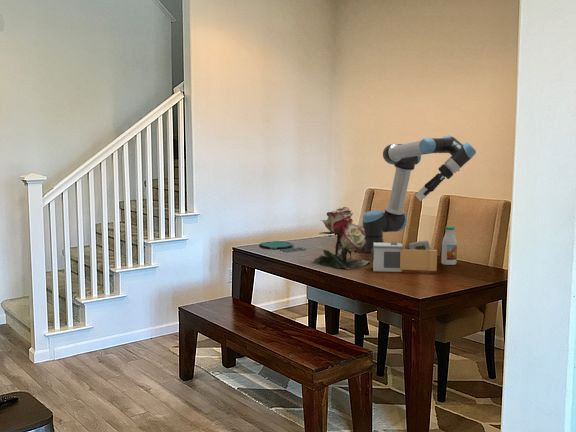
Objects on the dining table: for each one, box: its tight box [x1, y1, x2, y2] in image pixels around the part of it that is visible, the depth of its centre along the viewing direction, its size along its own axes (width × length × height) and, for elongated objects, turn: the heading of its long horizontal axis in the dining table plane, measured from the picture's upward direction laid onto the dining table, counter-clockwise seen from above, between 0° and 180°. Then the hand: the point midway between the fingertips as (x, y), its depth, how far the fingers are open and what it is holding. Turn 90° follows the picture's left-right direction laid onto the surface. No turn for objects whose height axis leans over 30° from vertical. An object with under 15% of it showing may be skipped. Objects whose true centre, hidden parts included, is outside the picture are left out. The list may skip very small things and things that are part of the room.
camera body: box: [370, 241, 404, 273], centre depth 303 cm, size 15×11×14 cm
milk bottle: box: [440, 225, 458, 266], centre depth 318 cm, size 8×8×20 cm
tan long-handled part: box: [400, 248, 438, 272], centre depth 296 cm, size 18×3×10 cm, turn 83°
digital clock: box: [408, 240, 432, 250], centre depth 325 cm, size 16×9×11 cm, turn 118°
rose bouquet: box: [309, 206, 370, 270], centre depth 318 cm, size 26×29×30 cm
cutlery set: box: [258, 240, 307, 253], centre depth 366 cm, size 20×30×2 cm, turn 36°
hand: (417, 198), depth 306 cm, fingers open, 13 cm apart
